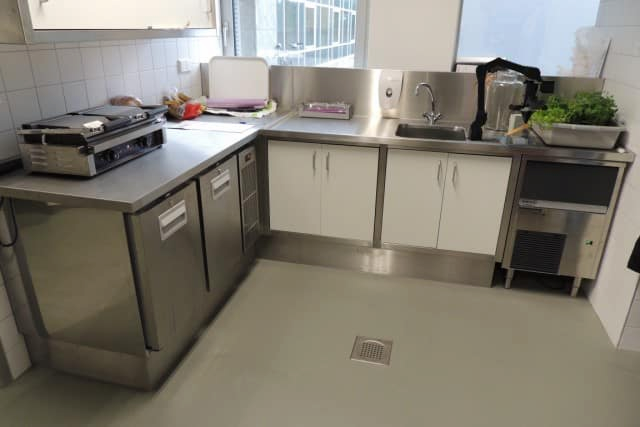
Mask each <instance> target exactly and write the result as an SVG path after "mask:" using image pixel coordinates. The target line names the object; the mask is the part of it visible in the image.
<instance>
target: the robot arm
mask: <svg viewBox="0 0 640 427" xmlns="http://www.w3.org/2000/svg"><path fill="white" fill-rule="evenodd" d="M496 67H501V68H504V69H507V70H510V71H513V72H517V73H519V74H521V75H522V76H524V77H526V79H525V80H523V81H522V84H524V85H525V90H524V94H522V97H523V102H521V103H520V104H519V103H510V104H509V105H508V110H510V111H514V112H518V111H519V112H520V114H521V115H522V118H523V121H524V123H523V125H525V124H528V122H529V120H530V119H531V117H532V116H533V115H534V114H535V113H537V112H538V111H540V110H541V111H548V109H549V106H548V104H547V103H546V100H545V99H541V100H540V99H539V96H538V95H537V94H538V92H540V94H541V95H554V92H555V85H556V84H555V83H556V80H555V79H549V80H548V79H544V78H543V77H542V76H541V74H542V73H541V69H540V68H539V67H537V66H531V65H530V66H529V65H522V64H520V63H517V62H513V61H511V60H507V59H504V58H502V57H501V56H500V57H499V56H498V57H496V58H494V59H491V60H490V61H489V62H488V61H487V62H485V63H483V62H482V63H479V64H477V65H476V67H475V76H476V80H477V81H476V82H477V109H476V114H475V119H474V120H473V121H472V122H471V123H470V124H469V125H470V126H469V128H468V135H467V137H466V139H468V140H470V141H483V134H484V131H483V128H482V127H484V126H485V125H486V124H487V122H488V121H489V111H488V110H486V81H487V75H488V71H490V70H492V69H494V68H496ZM529 79H530V80H529ZM535 81H536V82H535Z"/></svg>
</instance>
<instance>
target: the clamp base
mask: <svg viewBox="0 0 640 427" xmlns="http://www.w3.org/2000/svg"><path fill="white" fill-rule="evenodd" d="M506 133H507V132H506V131H505V132H501V133H500V136H499V138H500V139H497V143H499V144H500V145H503V146H505V147H507V148H510V147H515V148H516V147H537V146H538V144H537V143H535V142H533V144H528V139H526V138H523V137H522V136H521V137H519V136H511V135H510V134H506ZM504 134H506V135H505V137H504V136H503V135H504Z"/></svg>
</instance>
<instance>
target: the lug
mask: <svg viewBox="0 0 640 427" xmlns="http://www.w3.org/2000/svg"><path fill="white" fill-rule="evenodd" d="M527 137H528V139H527V140H528V144H533V143H534V140H535V135H532V134H531V135H530V134H529V135H527Z"/></svg>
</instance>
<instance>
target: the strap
mask: <svg viewBox="0 0 640 427" xmlns="http://www.w3.org/2000/svg"><path fill="white" fill-rule="evenodd" d="M529 127H531V125H530V124H529V123H527V124H523V126H521V127H519V128H517V129H515V130H512V131H510V132H508V131H507V132H506V134H510V135H513V134H515V133H517V132H519V131H521V130H522V131H523V130H525V129H527V128H529ZM506 134H504V135H503V136H504V137H505V135H506Z"/></svg>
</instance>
